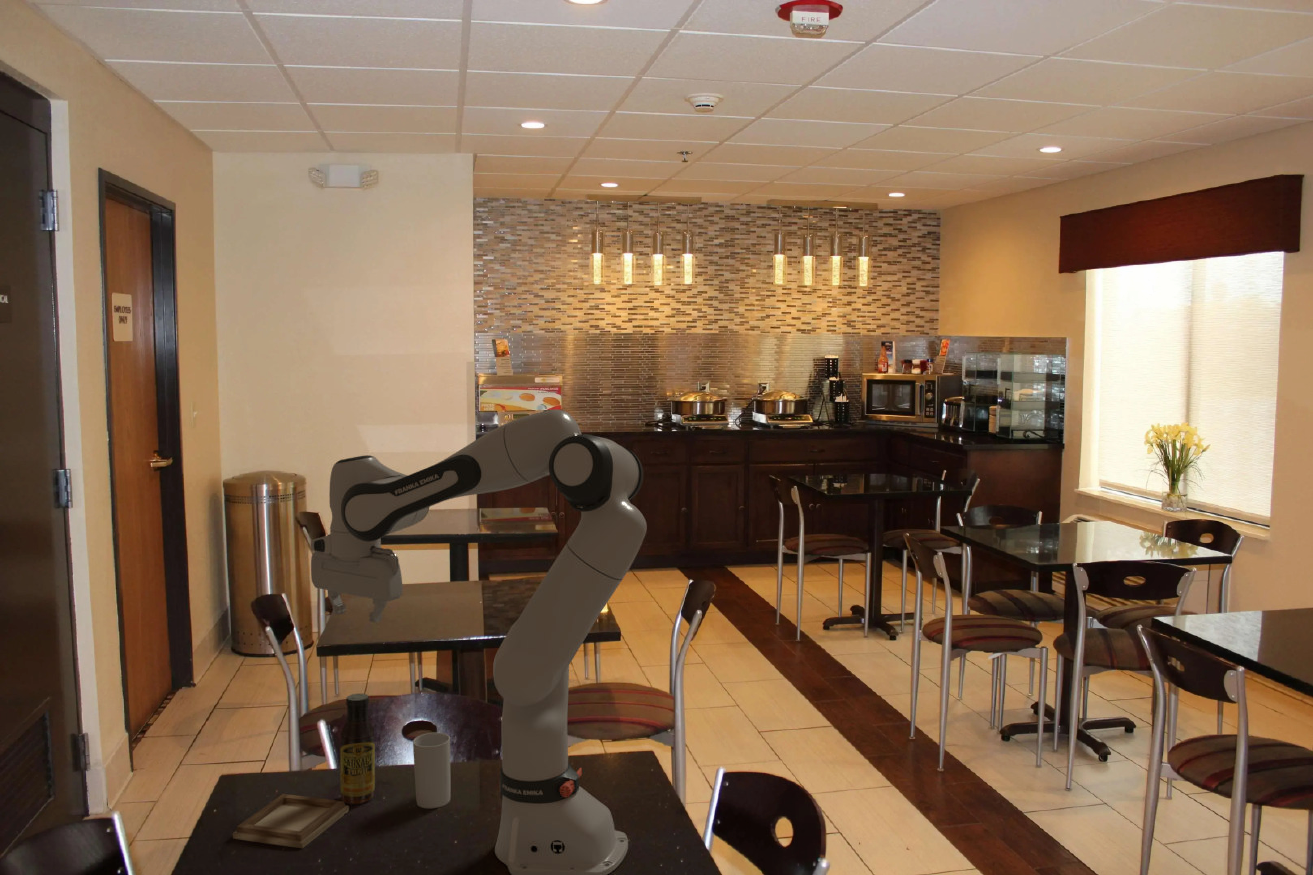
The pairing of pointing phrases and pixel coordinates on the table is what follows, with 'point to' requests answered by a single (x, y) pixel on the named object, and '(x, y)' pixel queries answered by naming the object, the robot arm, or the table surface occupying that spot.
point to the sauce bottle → (357, 752)
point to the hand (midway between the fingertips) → (357, 617)
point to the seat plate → (291, 821)
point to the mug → (432, 769)
